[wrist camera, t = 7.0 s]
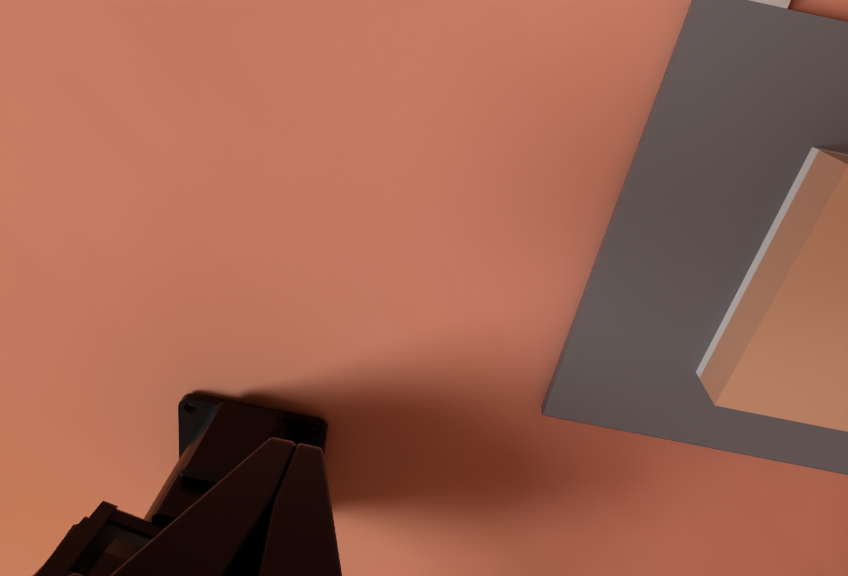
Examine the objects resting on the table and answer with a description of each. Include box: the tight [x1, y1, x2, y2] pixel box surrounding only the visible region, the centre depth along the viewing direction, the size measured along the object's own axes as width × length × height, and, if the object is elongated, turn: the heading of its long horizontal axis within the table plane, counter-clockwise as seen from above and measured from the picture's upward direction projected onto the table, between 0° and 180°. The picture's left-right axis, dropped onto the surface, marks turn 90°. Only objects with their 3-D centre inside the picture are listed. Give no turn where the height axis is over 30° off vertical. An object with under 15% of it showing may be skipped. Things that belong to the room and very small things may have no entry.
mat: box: [541, 0, 848, 475], centre depth 21 cm, size 16×16×1 cm
